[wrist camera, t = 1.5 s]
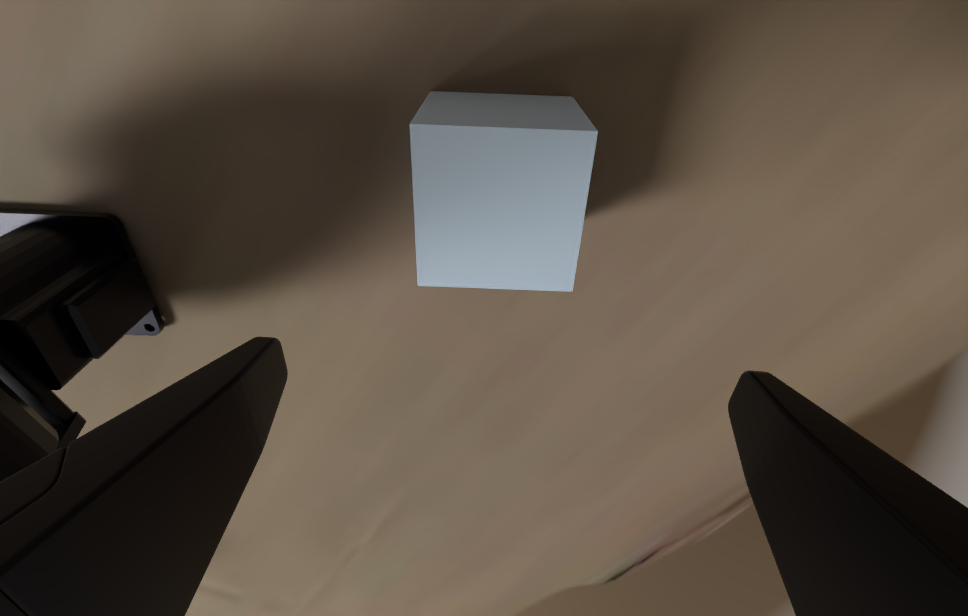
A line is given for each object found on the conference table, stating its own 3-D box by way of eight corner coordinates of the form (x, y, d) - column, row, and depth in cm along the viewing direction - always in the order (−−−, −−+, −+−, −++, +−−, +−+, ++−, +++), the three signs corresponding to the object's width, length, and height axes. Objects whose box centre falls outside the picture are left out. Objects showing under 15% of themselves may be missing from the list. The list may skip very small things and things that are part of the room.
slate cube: (434, 222, 22) (417, 285, 17) (430, 90, 18) (409, 123, 14) (555, 227, 22) (572, 291, 17) (572, 96, 18) (598, 131, 14)
